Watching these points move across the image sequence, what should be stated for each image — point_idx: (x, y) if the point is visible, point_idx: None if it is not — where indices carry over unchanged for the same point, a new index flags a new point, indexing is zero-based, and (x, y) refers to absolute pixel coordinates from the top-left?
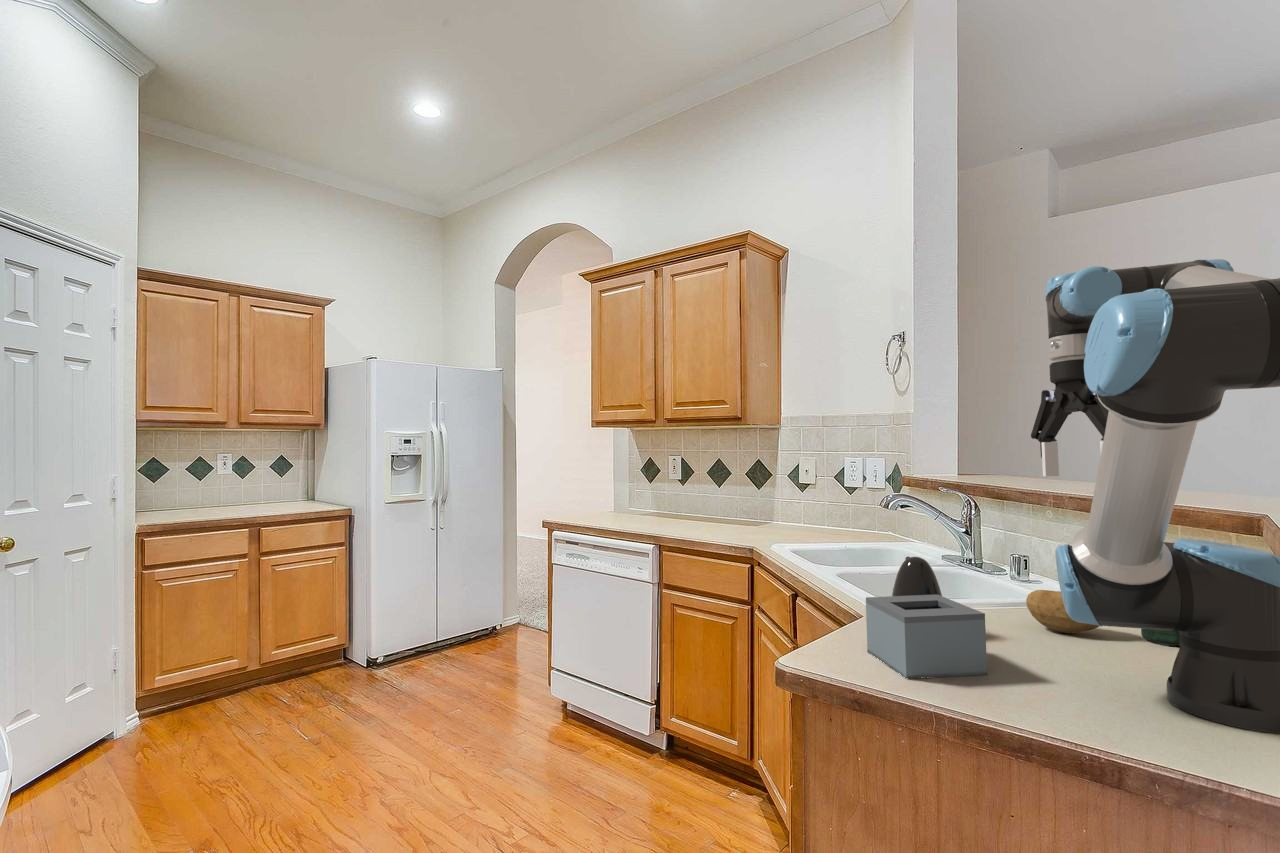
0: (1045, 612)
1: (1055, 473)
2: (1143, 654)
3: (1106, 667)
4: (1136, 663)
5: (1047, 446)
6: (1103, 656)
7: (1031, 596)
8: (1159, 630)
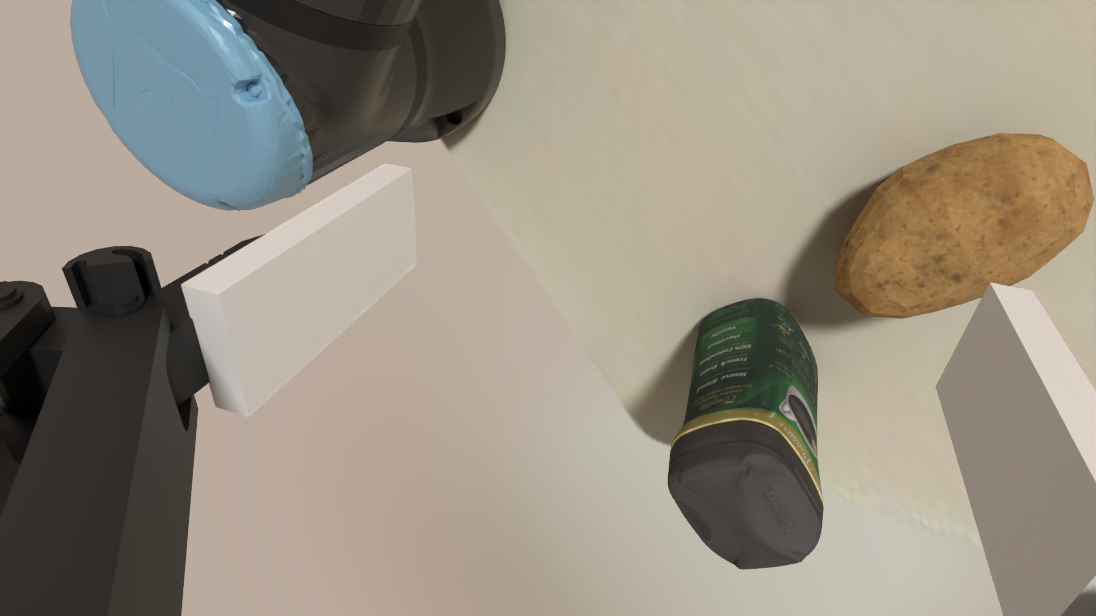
0: (971, 143)
1: (954, 376)
2: (705, 198)
3: (664, 15)
4: (663, 118)
5: (1072, 517)
6: (730, 90)
7: (1053, 157)
8: (736, 314)
